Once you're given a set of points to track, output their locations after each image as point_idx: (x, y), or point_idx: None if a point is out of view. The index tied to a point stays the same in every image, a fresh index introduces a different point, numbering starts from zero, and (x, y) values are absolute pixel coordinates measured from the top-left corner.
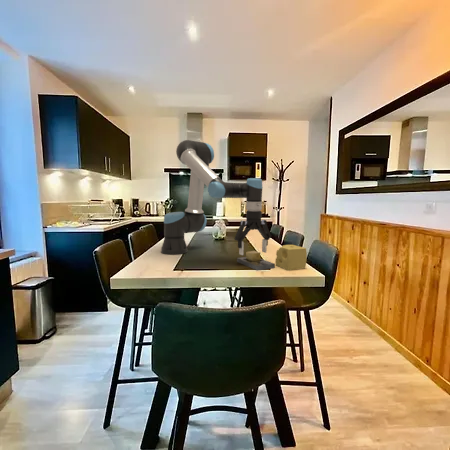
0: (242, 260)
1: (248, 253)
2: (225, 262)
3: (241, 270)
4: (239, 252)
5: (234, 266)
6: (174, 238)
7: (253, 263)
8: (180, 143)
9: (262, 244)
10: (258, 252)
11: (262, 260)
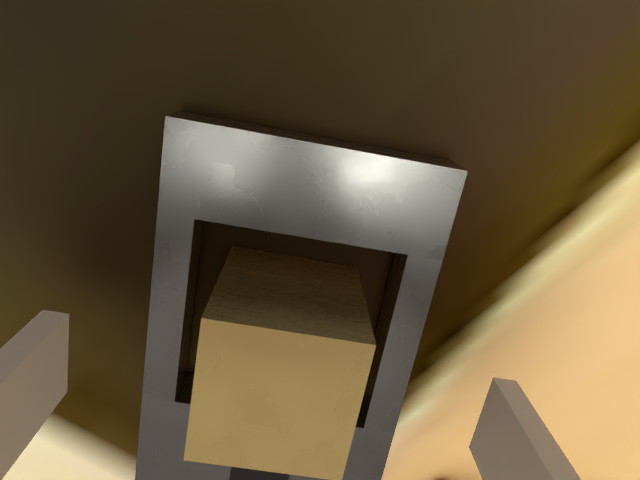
0: (153, 266)
1: (196, 371)
2: (11, 33)
3: None
4: (26, 333)
5: (18, 271)
6: None
7: (166, 452)
8: None
9: (545, 477)
10: (332, 456)
11: (368, 408)
